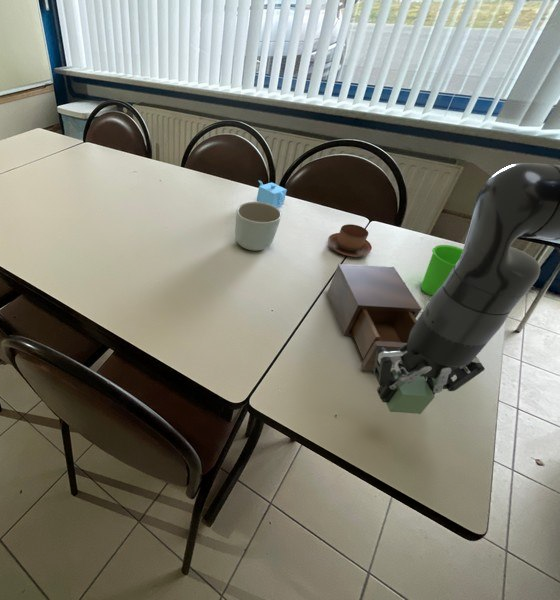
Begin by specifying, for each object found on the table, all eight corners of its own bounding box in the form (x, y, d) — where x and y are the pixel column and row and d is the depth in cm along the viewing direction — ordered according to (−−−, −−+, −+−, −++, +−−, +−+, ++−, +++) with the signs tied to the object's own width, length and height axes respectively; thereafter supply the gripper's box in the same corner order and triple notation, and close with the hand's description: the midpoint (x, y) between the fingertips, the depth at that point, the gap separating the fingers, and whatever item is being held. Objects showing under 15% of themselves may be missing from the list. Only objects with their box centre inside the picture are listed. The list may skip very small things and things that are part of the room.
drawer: (433, 394, 70) (454, 370, 65) (370, 390, 70) (386, 366, 66) (395, 325, 84) (410, 301, 79) (343, 322, 84) (354, 298, 79)
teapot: (249, 199, 133) (252, 179, 128) (261, 195, 135) (265, 176, 130) (273, 213, 125) (278, 192, 120) (286, 208, 128) (291, 188, 123)
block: (420, 414, 56) (435, 396, 53) (389, 411, 57) (402, 394, 54) (408, 389, 60) (421, 371, 57) (378, 387, 60) (390, 369, 57)
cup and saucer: (329, 234, 115) (336, 216, 111) (371, 244, 111) (379, 226, 107) (322, 253, 107) (329, 235, 103) (367, 264, 103) (375, 246, 99)
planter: (271, 235, 115) (279, 203, 107) (275, 257, 105) (283, 224, 98) (231, 232, 116) (236, 200, 109) (231, 254, 107) (236, 220, 100)
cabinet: (402, 339, 82) (421, 308, 75) (343, 335, 82) (358, 305, 76) (378, 296, 93) (393, 266, 87) (326, 293, 94) (338, 263, 87)
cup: (414, 296, 93) (435, 261, 85) (410, 276, 99) (430, 241, 92) (455, 305, 90) (481, 269, 83) (448, 284, 96) (472, 249, 89)
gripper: (411, 339, 44) (361, 416, 56) (536, 347, 43) (459, 424, 55) (387, 299, 50) (346, 376, 61) (498, 306, 49) (435, 383, 60)
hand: (400, 398), depth 58 cm, fingers closed on block, 4 cm apart
